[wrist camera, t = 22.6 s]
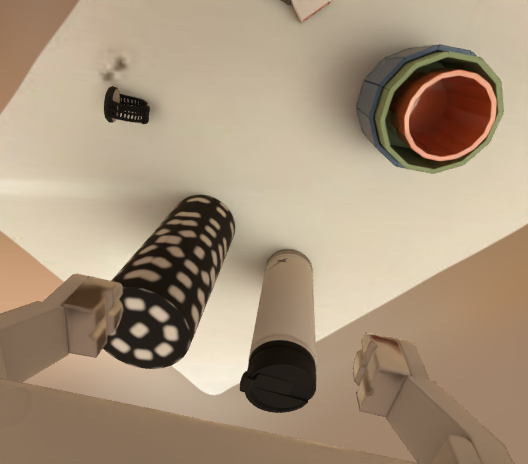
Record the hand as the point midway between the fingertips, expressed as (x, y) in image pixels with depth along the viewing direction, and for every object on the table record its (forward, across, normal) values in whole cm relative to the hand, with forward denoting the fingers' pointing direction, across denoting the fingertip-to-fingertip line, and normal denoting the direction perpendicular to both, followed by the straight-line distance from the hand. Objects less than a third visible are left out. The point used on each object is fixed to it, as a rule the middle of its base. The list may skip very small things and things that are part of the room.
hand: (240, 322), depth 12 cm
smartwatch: (+32, +17, 0) cm, 36 cm away
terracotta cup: (+29, -12, -6) cm, 32 cm away
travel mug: (+32, -4, +17) cm, 36 cm away
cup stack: (+31, -12, -6) cm, 34 cm away
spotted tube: (+32, +8, +13) cm, 35 cm away
